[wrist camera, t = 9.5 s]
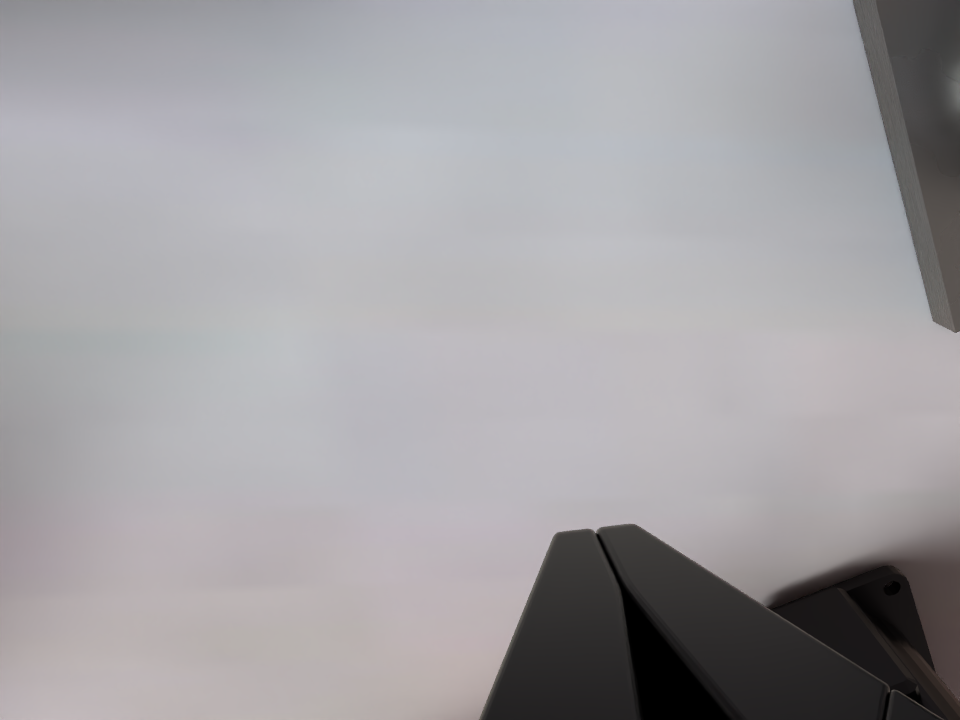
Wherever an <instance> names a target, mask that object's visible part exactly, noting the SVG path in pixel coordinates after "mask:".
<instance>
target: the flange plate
mask: <svg viewBox="0 0 960 720" xmlns="http://www.w3.org/2000/svg"><path fill="white" fill-rule="evenodd" d="M853 3H854V7H855V11H856V15H857V19H858V23H859V27H860V31H861V35H862V39H863V43H864V47H865V51H866V55H867V59H868V63H869V67H870V71H871V75H872V79H873V83H874V87H875V91H876V95H877V99H878V103H879V107H880V111H881V115H882V119H883V123H884V127H885V131H886V135H887V139H888V143H889V147H890V151H891V155H892V159H893V163H894V167H895V171H896V175H897V179H898V183H899V187H900V191H901V195H902V199H903V202H904V206H905V210H906V214H907V218H908V222H909V226H910V230H911V234H912V238H913V242H914V246H915V250H916V254H917V258H918V262H919V266H920V270H921V274H922V278H923V282H924V286H925V290H926V294H927V298H928V302H929V306H930V310H931V314H932V318H933V321H934V322H936V323H938V324H939V325H941V326H943V327H945V328H947V329H949V330H951V331H953V332H955V333H957V332H959V331H960V0H853Z"/></svg>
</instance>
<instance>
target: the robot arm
mask: <svg viewBox="0 0 960 720" xmlns="http://www.w3.org/2000/svg"><path fill="white" fill-rule="evenodd" d="M890 581H893V582H892V584H891V585H889V586H888V587H884V586H885V585H886V584H887V583H888V582H890ZM479 720H960V702H959V701H958V700H957V698H956V697H955V696H954V695H953V694H952V692H951V691H950V690H949V689H948V688H947V686H946V685H945V684H944V683H943V682H942V680H941V679H940V678H939V677H938V675H937V674H936V672H935V669H934V666H933V662H932V659H931V656H930V652H929V649H928V646H927V642H926V639H925V635H924V632H923V629H922V625H921V622H920V619H919V615H918V612H917V609H916V605H915V602H914V599H913V595H912V592H911V589H910V585H909V582H908V580H907V579H906V577H905V576H904V575H903V574H902V573H901V572H900V571H899V569H897V568H895V567H893V566H884V567H880V568H877V569H875V570H872V571H870V572H867V573H865V574H862V575H859V576H857V577H854V578H852V579H849V580H847V581H844V582H841V583H839V584H836V585H834V586H831V587H829V588H826V589H823V590H821V591H818V592H816V593H813V594H811V595H808V596H805V597H803V598H800V599H798V600H795V601H792V602H790V603H787V604H785V605H782V606H780V607H777V608H774V609H772V610H770V609H768V608H767V607H765V606H764V605H762V604H760V603H759V602H757V601H756V600H754V599H753V598H751V597H749V596H748V595H746V594H745V593H743V592H741V591H740V590H738V589H737V588H735V587H734V586H732V585H730V584H729V583H727V582H726V581H724V580H723V579H721V578H719V577H718V576H716V575H715V574H713V573H712V572H710V571H708V570H707V569H705V568H704V567H702V566H701V565H699V564H697V563H696V562H694V561H693V560H691V559H690V558H688V557H686V556H685V555H683V554H682V553H680V552H679V551H677V550H675V549H674V548H672V547H671V546H669V545H668V544H666V543H664V542H663V541H661V540H660V539H658V538H657V537H655V536H653V535H652V534H650V533H649V532H647V531H646V530H644V529H642V528H641V527H639V526H637V525H635V524H624V525H615V526H607V527H601V528H599V529H598V530H597V531H596V533H595V532H594V531H593V530H591V529H581V530H572V531H564V532H558V533H556V534H555V535H554V537H553V539H552V541H551V544H550V546H549V549H548V551H547V553H546V556H545V558H544V561H543V563H542V566H541V568H540V571H539V573H538V576H537V578H536V581H535V583H534V586H533V588H532V590H531V593H530V595H529V598H528V600H527V603H526V605H525V608H524V610H523V613H522V615H521V618H520V620H519V623H518V625H517V627H516V630H515V632H514V635H513V637H512V640H511V642H510V645H509V647H508V650H507V652H506V655H505V657H504V659H503V662H502V664H501V667H500V669H499V672H498V674H497V677H496V679H495V682H494V684H493V687H492V689H491V692H490V694H489V696H488V699H487V701H486V704H485V706H484V709H483V711H482V714H481V716H480V719H479Z"/></svg>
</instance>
